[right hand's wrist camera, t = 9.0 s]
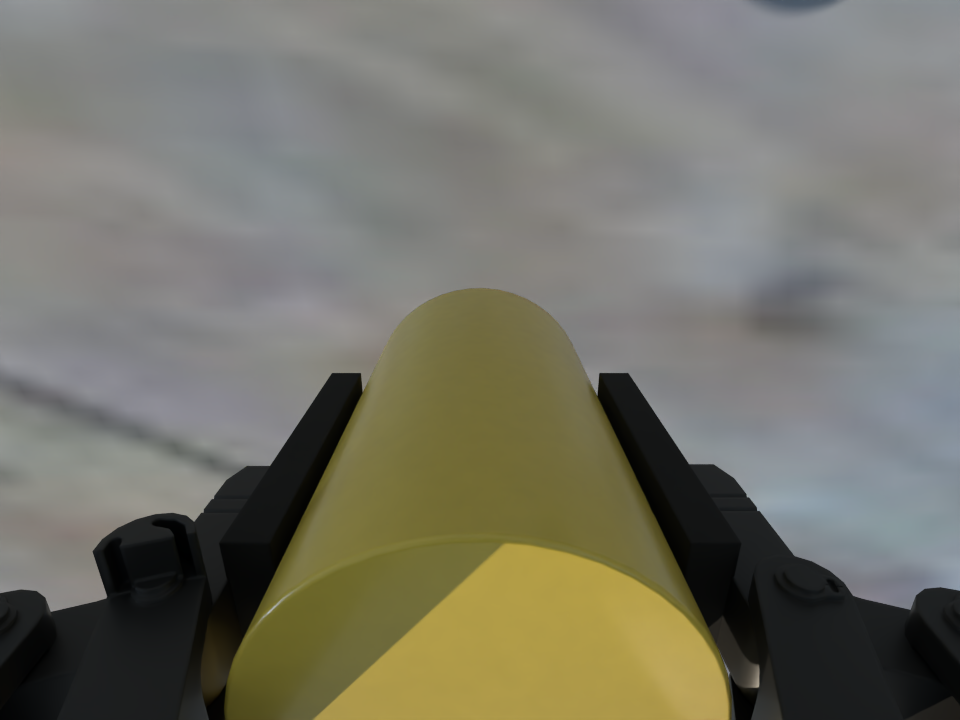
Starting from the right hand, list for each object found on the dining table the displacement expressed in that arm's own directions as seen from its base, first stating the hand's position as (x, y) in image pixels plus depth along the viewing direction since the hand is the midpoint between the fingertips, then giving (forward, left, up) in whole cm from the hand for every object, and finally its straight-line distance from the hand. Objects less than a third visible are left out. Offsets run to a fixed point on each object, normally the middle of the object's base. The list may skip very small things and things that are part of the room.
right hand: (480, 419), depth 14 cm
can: (0, 0, -2) cm, 2 cm away
